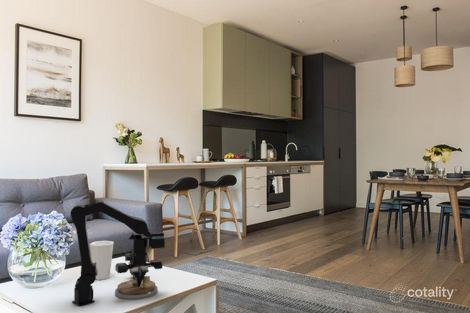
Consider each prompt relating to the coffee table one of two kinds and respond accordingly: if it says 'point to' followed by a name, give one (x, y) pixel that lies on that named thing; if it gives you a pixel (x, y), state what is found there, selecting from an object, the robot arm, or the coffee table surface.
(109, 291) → the coffee table surface
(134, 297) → the wheel base
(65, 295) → the coffee table surface
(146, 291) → the handwheel
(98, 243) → the cup
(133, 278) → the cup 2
